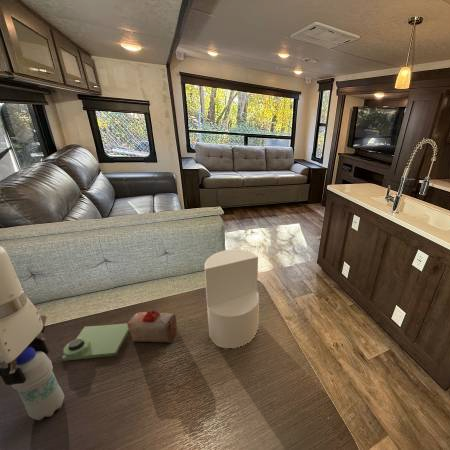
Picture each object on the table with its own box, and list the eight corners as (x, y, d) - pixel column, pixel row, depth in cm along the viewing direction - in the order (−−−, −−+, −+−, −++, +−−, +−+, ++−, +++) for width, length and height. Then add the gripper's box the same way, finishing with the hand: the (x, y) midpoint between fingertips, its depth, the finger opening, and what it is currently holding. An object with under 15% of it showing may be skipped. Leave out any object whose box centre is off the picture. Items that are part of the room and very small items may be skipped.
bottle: (64, 389, 66) (40, 333, 58) (70, 407, 62) (45, 351, 54) (27, 409, 61) (-4, 351, 53) (32, 431, 57) (-1, 371, 49)
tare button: (67, 351, 73) (66, 347, 72) (74, 342, 75) (72, 339, 75) (79, 350, 73) (78, 346, 73) (85, 341, 76) (84, 338, 76)
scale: (61, 362, 72) (58, 355, 71) (85, 329, 83) (83, 322, 82) (115, 356, 75) (113, 349, 74) (132, 325, 86) (130, 319, 85)
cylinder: (203, 321, 91) (198, 255, 80) (247, 306, 101) (248, 245, 90) (217, 357, 78) (213, 285, 67) (266, 336, 88) (269, 269, 77)
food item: (127, 344, 79) (121, 321, 76) (141, 325, 87) (136, 303, 83) (170, 346, 80) (167, 323, 77) (180, 327, 88) (177, 305, 84)
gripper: (11, 279, 55) (37, 338, 62) (-79, 343, 40) (-31, 412, 47) (51, 278, 57) (72, 335, 64) (-20, 338, 42) (18, 405, 49)
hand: (28, 367), depth 55 cm, fingers closed on bottle, 6 cm apart
